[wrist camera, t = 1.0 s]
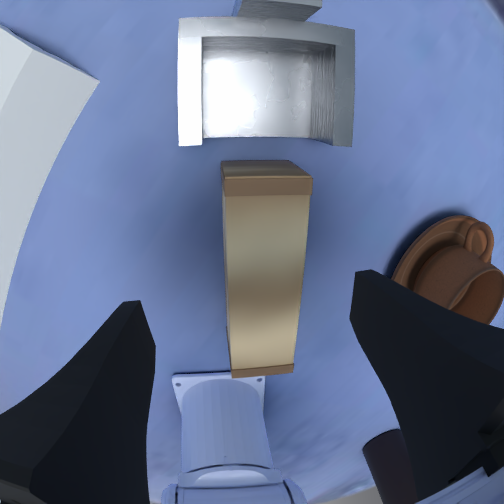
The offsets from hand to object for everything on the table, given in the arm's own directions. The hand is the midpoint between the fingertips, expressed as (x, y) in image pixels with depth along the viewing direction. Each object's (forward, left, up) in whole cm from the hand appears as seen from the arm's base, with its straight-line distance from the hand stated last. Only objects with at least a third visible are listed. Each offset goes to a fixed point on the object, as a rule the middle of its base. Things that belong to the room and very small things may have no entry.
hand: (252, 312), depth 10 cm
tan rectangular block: (-3, -1, -10) cm, 11 cm away
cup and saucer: (-6, -17, -11) cm, 21 cm away
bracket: (+8, -1, -10) cm, 13 cm away
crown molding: (+1, +21, -11) cm, 24 cm away
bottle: (-36, -21, -10) cm, 43 cm away
